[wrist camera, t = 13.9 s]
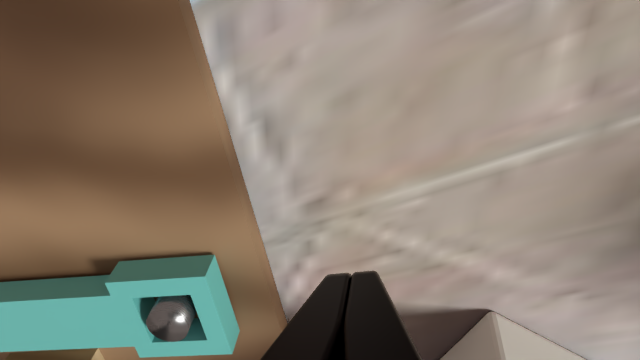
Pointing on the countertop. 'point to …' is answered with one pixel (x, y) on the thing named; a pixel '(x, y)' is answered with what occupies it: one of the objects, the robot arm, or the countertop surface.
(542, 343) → the soap bottle
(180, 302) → the pintle
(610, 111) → the countertop surface
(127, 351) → the board
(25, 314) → the link
